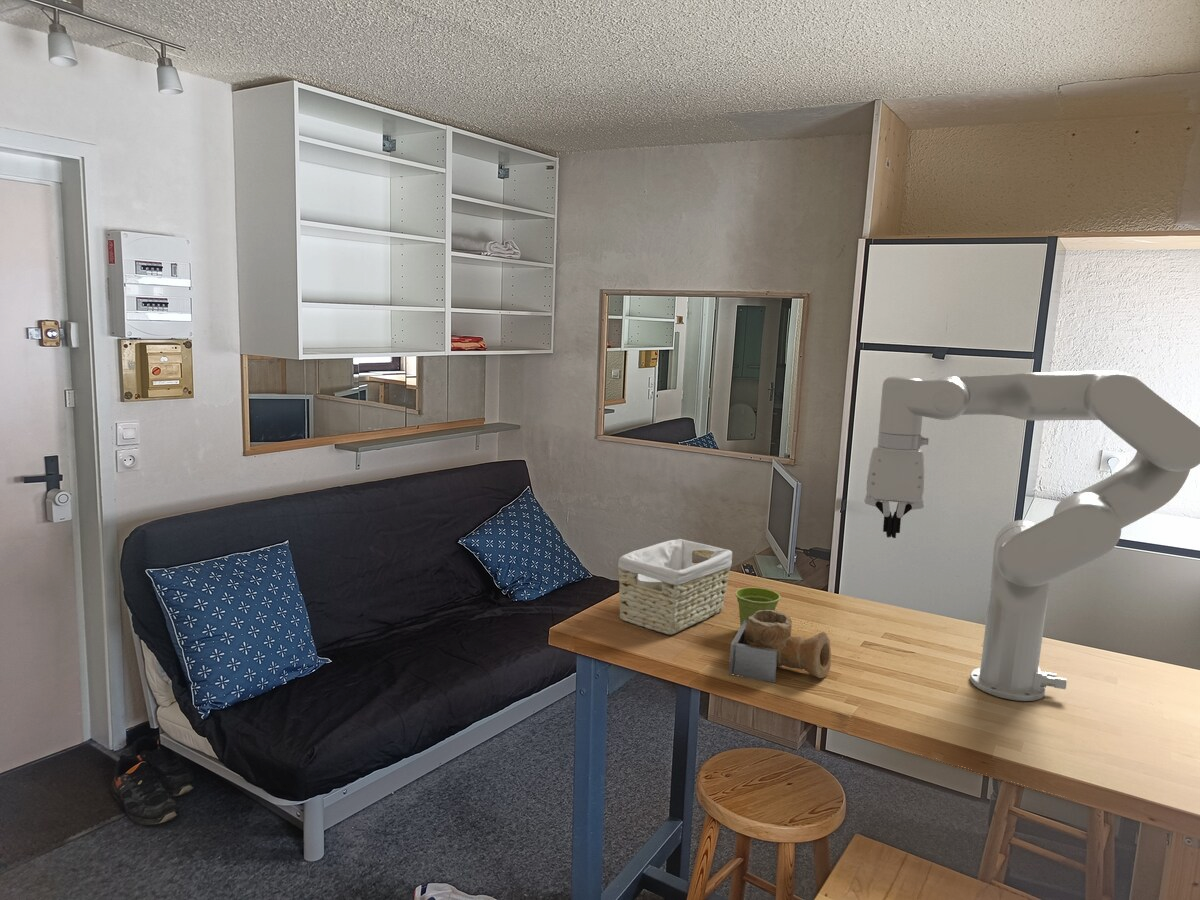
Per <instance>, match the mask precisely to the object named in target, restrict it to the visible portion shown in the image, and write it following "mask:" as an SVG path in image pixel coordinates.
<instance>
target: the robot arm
mask: <svg viewBox="0 0 1200 900" xmlns="http://www.w3.org/2000/svg"><path fill="white" fill-rule="evenodd" d="M880 399H881V400H880V411H879V425H878V435H877V436H878V437H877V446H873V448H872V451H871V453H870V454H871V455H870V459H869V464H868V472H867V481H866V495H865V498H864V503H865V504H866V505H868V506H872V507H876V508H877V509H878V510H879V511H880V512H881V514H883V526H882V527H883V528H882V532H883V533H886V534H885V535H886V538H892V539H896V538H897V534H900V532H901V521H902V519H903V517H904V516H905V515H907V513H909V512H910V511H911V510H912V511H913V510H920V509H923V508H924V500H923V499H924V491H925V490H924V489H925V464H924V462H925V456H924V451H923V449H921V447H922V446H929V442H930V441H929V438H928V437H924V436H923V435H922V426H923V425H922V423H923V418H929V419H935V420H941V421H951V420H955V419H957V418H959V417H960V416H973V415H979V416H980V415H982V416H984V415H987V416H990V415H991V416H993V415H994V416H1004V417H1010V418H1015V419H1018V420H1022V421H1023V420H1024V421H1035V422H1037V421H1042V422H1043V421H1100V422H1101V423H1102V424H1103V425H1105V427H1107V428H1108V429H1110V430H1111V431H1112V432H1113V433H1114V434H1115V435H1117V437H1119V438H1120V439H1121V440H1123V441H1124V442H1125V443H1127V445H1129V446H1130V447H1132V448H1133V449H1135V451H1136V453H1135V455H1134V457H1133V458H1132V460H1131V461H1130V462H1129V463H1128V464H1127V465H1126V466H1124V467H1123V468H1121V469H1120V470H1118V471H1117V472H1114V473H1113V474H1111V475H1109V476H1108V477H1106V478H1104V479H1102V480H1100V481H1098V482H1096V483H1094V484H1092V485H1090V486H1087V487H1086V488H1083V489H1082V490H1080V491H1077V492H1075V493H1074V494H1071V495H1069V496H1066V497H1065V498H1064V499H1062V500H1061V501H1059V502H1058V503H1057V505H1056V506H1055V508H1054V510H1053V514H1052V515H1051V516H1049V517H1047V518H1046V519H1043V520H1042V521H1039V522H1038V523H1037V522H1035V521H1031V520H1027V519H1018V520H1017V519H1016V520H1014V521H1011V522H1008V523H1007V524H1006V525H1004V526H1003V527H1002V528H1001V529H1000V530H999V531H998V533H997V535H996V537H995V540H994V545H993V555H992V567H991V579H990V585H989V586H990V587H989V595H988V602H987V611H986V617H985V618H986V619H985V626H984V627H985V628H984V637H983V642H982V643H983V644H982V653H981V659H980V660H981V662H980V667H977V668H974V669H972V670H971V671H970V674H969V675H970V676H969V679H970V682H971V683H972V684H973V686H974V687H976V688H977V689H979V690H980V691H981V692H985V693H987V694H989V695H991V696H994V697H998V698H1001V699H1004V700H1005V699H1006V700H1012V701H1019V702H1031V701H1033V702H1034V701H1037V700H1041V699H1042V698H1043V697H1044V696H1045V694H1046V688H1047V687H1051V688H1054V689H1061V690H1066V688H1067V679H1066V678H1063V677H1057V673H1054V672H1046V671H1043V670H1042V669H1041V668H1040V658H1041V651H1042V643H1043V635H1044V628H1045V621H1046V615H1047V614H1046V613H1047V609H1048V608H1047V607H1048V606H1047V605H1048V601H1049V600H1048V599H1049V591H1050V589H1049V588H1050V582H1052V581H1055V580H1056V579H1058V578H1060V577H1063V576H1065V575H1067V574H1069V573H1072V572H1073V571H1076V570H1078V569H1081V568H1082V567H1085V566H1086V565H1089V564H1090V563H1092V562H1095V561H1097V560H1099V559H1101V558H1103V557H1104V556H1105V555H1107V554H1108V553H1110V552H1111V551H1112V550H1113V549H1114V548H1115V547H1116V546H1117V544H1118V542H1119V540H1120V539H1121V536H1122V529H1123V528H1125V527H1127V526H1130V525H1131V524H1133V523H1136V522H1137V521H1139V520H1140V519H1142V518H1145V517H1146V516H1148V515H1150V514H1152V513H1153V512H1155V511H1157V510H1159V509H1160V508H1162V507H1163V506H1165V505H1167V504H1168V503H1169V502H1170V501H1172V499H1174V497H1175V496H1177V494H1178V493H1179V492H1180V491H1181V490H1182V488H1183V486H1184V484H1185V482H1186V480H1187V478H1188V477H1189V473H1190V472H1191V470H1192V469H1194V468H1195V467H1197V466H1199V465H1200V425H1198V424H1197V423H1195V422H1194V421H1193V420H1192V419H1190V418H1189V417H1187V416H1186V415H1184V414H1183V413H1182V412H1181V411H1180V410H1179V409H1177V408H1175V406H1174V405H1172V404H1170V403H1169V402H1168V401H1166V400H1165V399H1164V398H1162V397H1161V396H1159V395H1158V394H1157V393H1156V392H1154V390H1152V389H1151V388H1150V387H1148V386H1147V385H1146V384H1145V383H1144V382H1142V381H1141V380H1140V379H1139V378H1137V377H1136V376H1135V375H1133V374H1131V373H1128V372H1124V371H1122V370H1121V371H1119V370H1105V369H1104V370H1080V371H1079V370H1078V371H1076V370H1075V371H1052V372H1051V371H1049V372H1048V371H1045V372H1039V371H1038V372H1022V373H1011V374H996V375H995V374H993V375H992V374H991V375H990V374H988V375H961V376H960V375H955V376H953V375H952V376H943V377H940V378H938V379H932V380H931V379H930V380H923V379H921V378H918V377H913V376H911V377H910V376H889V377H887V378H885V379H884V380H883V383H882V388H881V398H880ZM890 502H893V503H897V504H896V509H895V511H894V512H893V515H892V512H891V509H890V508H891V507H890Z"/></svg>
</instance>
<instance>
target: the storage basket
mask: <svg viewBox="0 0 1200 900" xmlns="http://www.w3.org/2000/svg"><path fill="white" fill-rule="evenodd" d="M693 555H695V556H699V557H702V558H705V559H706V560H704V561H701V562H693ZM732 559H733V550H731V549H727V548H721V547H719V546H713V545H709V544H705V543H700V542H696V541H691V540H687V539H682V538H677V539H670V540H667V541H663V542H659V543H655V544H652V545H649V546H647V547H643V548H640V549H637V550H633V551H630V552H628V553H626V554H623V555H622V556H621V555H620V557H619V558H618V562H617V563H618V564H617V565H618V570H617V571H618V573H617V574H618V577H619V578H618V582H619V589H618V591H619V614H618V615H619V617H620V619H621V620H623V621H625V622H628V623H630V624H633V625H636V626H639V627H645V628H646V629H648V630H652V631H655V632H658V633H662V634H666V635H668V636H669V635H674V634H677V633H679V632H681V631H682V630H683V631H684V630H685V629H687V628H689V627H692V626H694V625H695V624H698V623H699V622H700V623H701V622H703V621H706V620H707V619H710V618H711V616H714V615H717V614H719V613H721V612H722V611H723V609H724V604H725V601H724V600H725V599H726V598H725V597H726V595H727V586H728V581H729V575H730V571H731V566H732V564H733V563H732V562H733V560H732Z"/></svg>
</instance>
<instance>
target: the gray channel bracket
mask: <svg viewBox="0 0 1200 900" xmlns="http://www.w3.org/2000/svg"><path fill="white" fill-rule="evenodd" d="M747 621H748V620H744V621H743V623H742V625H741V626H740V627H739V628H738V631H737V632H736V634H735V636H734V638H733V640H732V641H731V643H730V655H729V669H728V674H729V673H730V674H734V675H733V676H735V675H739V676H738V677H740V676H743V677H742V678H746V677H747V678H748V679H751V678H752V679H751V680H756V679H757V680H758V681H763V682H768V683H774V684H775V683H776V678H777V677H776V675H777V667H776V666H777V654H778V650H775V649H769V648H763V647H757V646H751V645H745V643H746V642H745V628H746V624H747Z"/></svg>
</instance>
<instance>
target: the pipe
mask: <svg viewBox="0 0 1200 900" xmlns="http://www.w3.org/2000/svg"><path fill="white" fill-rule="evenodd" d="M792 621H793V620H792V618H791V617H790V616H789V614H787V613H785V612H781V611H778V610H775V611H773V610H764V611H763V610H759V611H757V612H755V613H754V615H752V616H749V617H748V621H747V624H746V628H745V642H746V643H745V645H751V646H757V647H763V648H769V649H775V650H778V654H777V666H776V668H777V667H778V668H779V667H782V666H784V667H787V668H791V669H798V670H804V671H806V672H807V673H808V674H811V675H812V676H814V677H816V678H818V679H823V678H826V676H828V674H829V672H830V670H831V666H832V664H831V663H832V652H831V651H832V650H831V640H830V638H829V636H828V634H827V633H826V632H824V631H823V632H822V631H821V632H819V633H817V634H815V635H814V636H812V637H808V638H805V637H801V636H792V634H791V633H792V627H793V626H792Z"/></svg>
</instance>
